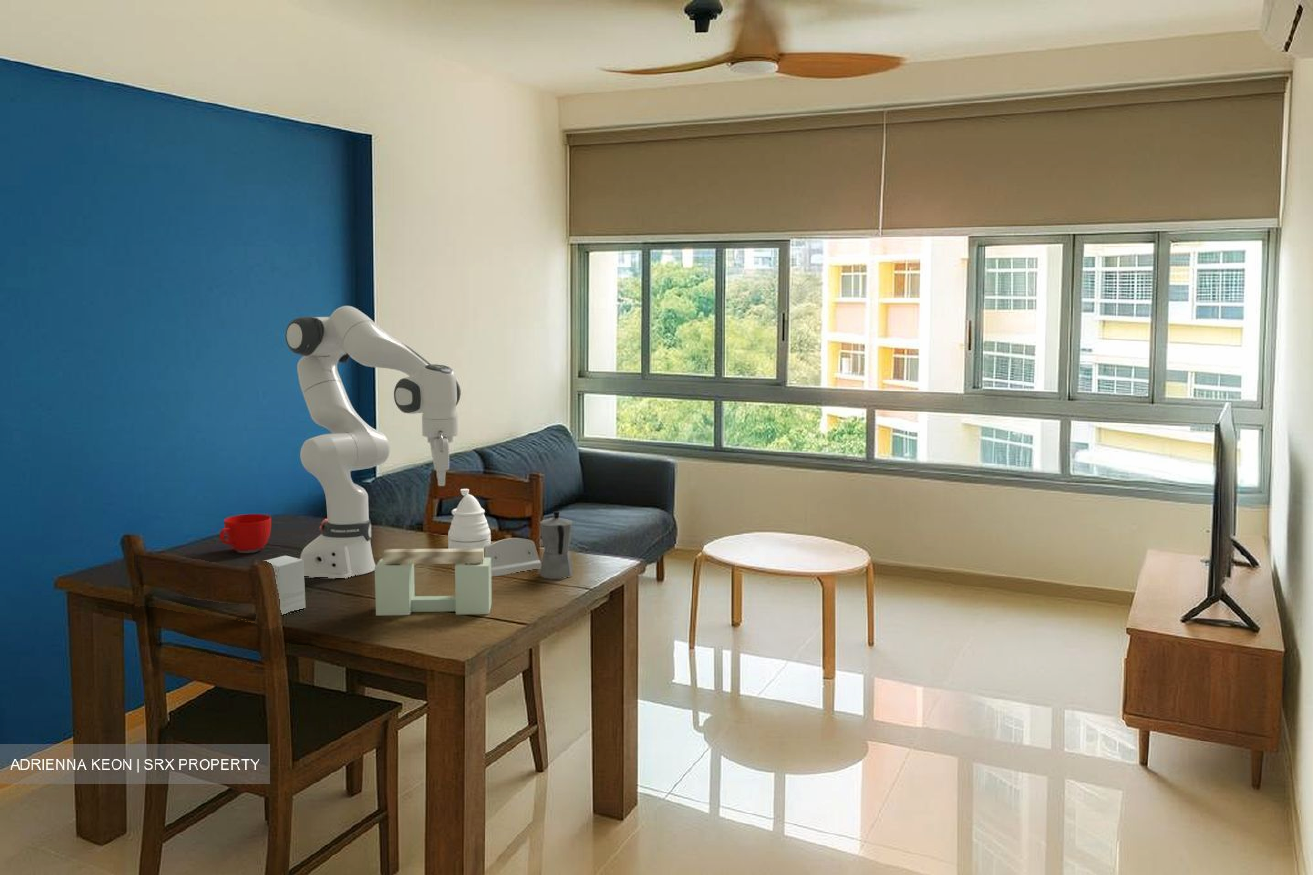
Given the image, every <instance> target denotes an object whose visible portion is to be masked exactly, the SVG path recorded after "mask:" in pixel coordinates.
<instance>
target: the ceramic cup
mask: <svg viewBox="0 0 1313 875" xmlns="http://www.w3.org/2000/svg"><path fill="white" fill-rule="evenodd" d="M223 524H224V528H222V529H221V530H220V532H219V539H220V540H221V542H222V543H223V544H225V545H228V546H231V548H232V550H234V549H235V551H236V550H239V551H248V550H256V549H261V548H265V546H266V545H267V543H268V541H269V539H270V536H271V531H272V517H271V516H270V515H268V514H261V513H248V514H237V515H233V516H229V517H227V518H225V519H223ZM225 536H226V538H225Z"/></svg>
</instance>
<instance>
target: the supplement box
mask: <svg viewBox="0 0 1313 875" xmlns="http://www.w3.org/2000/svg"><path fill="white" fill-rule="evenodd" d="M264 561H267V562H269V563H271V564H272V566H273V568H274V572H275V579H276V584H277V589H278V593H279V599H280V610H281V613H282V615H283V614H286V613H288V612H290V611H294V610H299V609H303V608H306V589H305V587H306V586H305V577H304V562H303V560H302V559H300V558H297V557H293V556H289V555H280V556H278V557H274V558H270V559H266V560H264ZM306 609H307V608H306Z"/></svg>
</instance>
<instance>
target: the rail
mask: <svg viewBox="0 0 1313 875" xmlns="http://www.w3.org/2000/svg"><path fill="white" fill-rule="evenodd" d="M382 559H383V564H390V565H399V564H414V565H445V564H446V565H451V564H452V565H453V564H454V565H456V564H470V565H477V563H483V562H484V548H469V549H448V548H386V549H384V550H383V551H382Z"/></svg>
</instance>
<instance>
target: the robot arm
mask: <svg viewBox="0 0 1313 875" xmlns="http://www.w3.org/2000/svg"><path fill="white" fill-rule="evenodd" d="M285 342H286V344H287V346H288V349H289V350H290V351H291V352H292V353H294V354H297V355H300V356H302V357H301V358H300V359H299V360H298V362H297V365H296V366H297V367H296V369H297V370H296V371H297V377H298V382H299V386H300V390H301V393H302V395H303V398H304V401H305V404H306V407H307V409H308V413H309V415H310V418H311V419H312V421H313V422H314V423H315V424H316V425H319V426H320V427H323V428H325V429H327V430H328V431H329V432H330V433H324V434H320V435H317V436H313V437H310V438H308V439H306V440H305V441H304V442H303V443H302V446H301V448H300V453H299V456H300V457H299V458H300V462H301V464H302V466H303V468H304V469H305V470H306V471H307V472H308V473H310V474H311V475H313V476H314V477H315V478H316V479H317V481H318V482H319V483H320V485H321V487H322V489H323V492H324V495H325V501H326V515H327V517H326V518H324V519H323V520H322V521H321V523H320V526H319V531H320V535H318V536H317V537H316V538H315V539H313V540H311V542H309V543H308V544H307V545H306V546H305V547H304V548H303V549H302V551H301V553H300V556H299V559H302V560H303V562H304V576H309V577H308V578H314V577H328V578H327V579H335V578H345V579H348V577H349V578H351V576H352V577H355V575H356V576H361V575H365V574H368V573H371V572H375V566H376V565H377V564H376V563H375V559H374V556H373V550H372V545H371V544H372V543H371V539H372V523H371V519H370V518H369V516H370V515H369V494H368V492H367V491H366V489H365V488H364V487H362V486H361V485H359V484H356V483H355V482H354V481H353V479H352V477H351V476H352V475H351V472H352V471H353V472H354V471H360V470H365V469H372V468H374V467H377V466H379V465H382V464H385V463H386V461H387V460H388V457H389V456H390V455H389V454H390V449H391V447H390V442H389V440H388V438H387V436H386V435H385V434H384V433H383V432H382V431H379V430H377V429H376V428H373V426H370V425H369V424H368V423H367V422H366V421H365V420H364V419H363V418H362V417H361V416H360V415H359V413H357V411H356V410H355V409H354V407H353V405H352V403H351V400H350V398H349V396H348V394H347V392H346V388H345V386H344V384H343V381H342V379H341V376H340V374H339V371H338V364H339V363H347V362H348V361H349V360H350V358H351V359H352V360H354V361H355V362H356V363H359V364H360V365H362V366H364V367H370V368H380V369H381V368H382V369H390V370H395V371H399V372H402V373H404V374H405V375H407V377H403V378H400V379H399V380H398V381H397V383H396V385H395V387H394V390H393V399H394V402H395V405H396V406H397V408H398V409H399V410H400V411H401V412H402V413H404V414H409V415H410V414H411V415H412V414H414V415H415V414H421V415H422V416H421V427H422V429H421V432H422V433H421V434H422V437H426V438H427V443H429V444H430V451H431V456H432V457H431V458H432V462H433V467H434V470H435V472H436V479H437V486H438V487H445V485H446V474H447V471H449V470H450V443H453V441H454V440H453V439H454V437H457V436H459V435H458V434H459V432H458V431H459V430H458V413H457V411H456V410H457V405H458V404H459V402H460V398H461V395H462V393H461V392H462V390H461V387H460V385H459V383H458V380H457V379H456V375H455V371H454V369H453V368H451V367H449V366H447V365H443V364H435V363H434V364H432V363H430V362H429V361H428V360H427V359H425V358H424V357H423V356H422V355H420V354H419V352H416V351H415V350H414V349H412V348H411V347H409V346H408V345H406V344H404V343H403V342H401V341H399V340H398V339H396V338H395V337H393V336H392V335H390V333H389V334H388V333H387V331H385V330H384V329H382V327H380V326H379V325H378V324H377V323H376V322H375V321H374V320H372V318H370V317H369V316H368V315H367V314H365V313H364V312H362V310H359V308H356V307H354V306H351V305H343V306H340V307H338V308H336V309H335V310H334V311H333V312H332V313H331V314H330V316H315V317H314V316H313V317H312V316H302V317H297V318H294V319H292V320H291V321H290V322H289V323H288V325H287V327H286V331H285Z"/></svg>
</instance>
